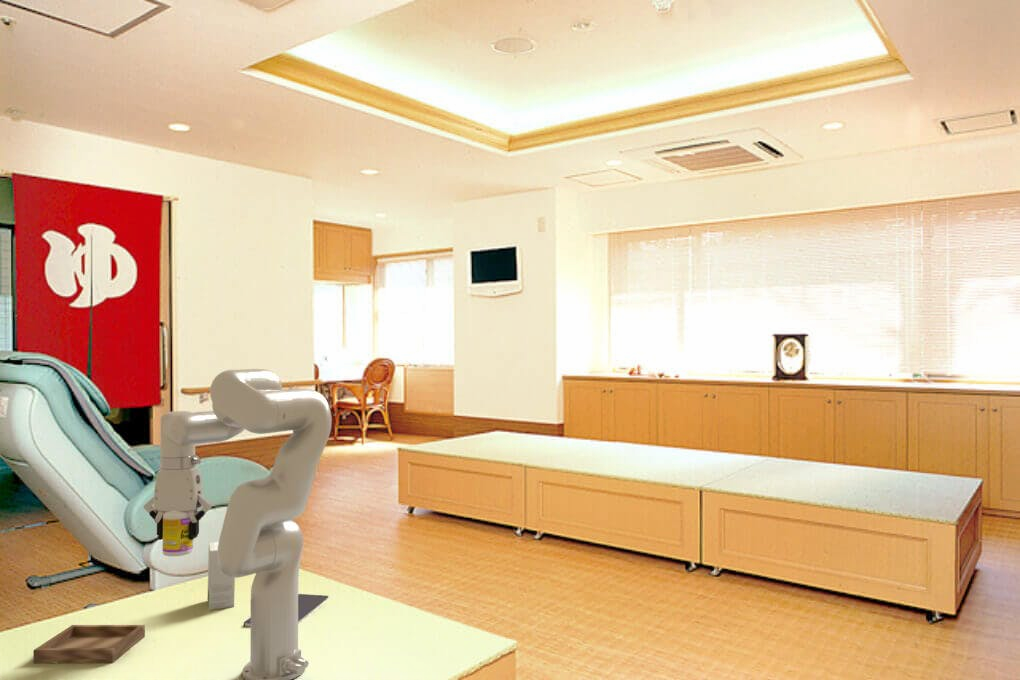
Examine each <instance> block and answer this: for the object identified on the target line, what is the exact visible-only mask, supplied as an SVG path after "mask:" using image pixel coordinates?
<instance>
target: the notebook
mask: <svg viewBox="0 0 1020 680" xmlns="http://www.w3.org/2000/svg"><path fill="white" fill-rule="evenodd" d="M328 598H329V595H321V594H310V593H309V594H308V593H307V594H304V593H298V625H300V624H301V623H302V622H303V621H304V620H303V619H305V618H306V617H307V616H308V615H309V614H311V613H312V612H313V611H314V610H315V609H316V608H317V607H319V606H320V605H321V604H322V603H323V602H324V601H326V600H327V599H328ZM328 600H329V599H328ZM319 608H320V607H319ZM314 612H315V611H314ZM314 612H313V613H314ZM313 613H312V614H313ZM312 614H311V615H312ZM308 617H309V616H308ZM308 617H307V618H308ZM307 618H306V619H307ZM306 619H305V620H306ZM302 620H303V621H302ZM301 621H302V622H301ZM300 622H301V623H300ZM299 623H300V624H299ZM250 626H251V617H249V618H248V619H246V620H245V621H243V627H250Z"/></svg>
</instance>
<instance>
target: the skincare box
mask: <svg viewBox="0 0 1020 680" xmlns="http://www.w3.org/2000/svg"><path fill="white" fill-rule="evenodd" d="M218 544H219V541H214V542H208V559H207V561H208V562H207V563H208V564H207V565H208V568H207V606H208V611H212V610H213V611H214V610H218V609H226V608H234V607H235V585H236V584H235V583H236V582H235V581H236V578H233V577H229V576H227V575H225V574H224V573H223V572H222V570H221V569H220V567H219V564H218V558H217V551H218Z"/></svg>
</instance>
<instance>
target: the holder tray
mask: <svg viewBox="0 0 1020 680" xmlns="http://www.w3.org/2000/svg"><path fill="white" fill-rule="evenodd" d="M145 633H146V625H145V624H72V625H70V626H68V627H67V628H65V629H64V630H62V631H61V632H60V633H58V634H56V635H55V636H53V637H51V638H50V639H49V640H47V641H45V642H44V643H42V644H40V645H39V646H38V647H35V648H34V649H33V653H32V654H33V660H32V661H33V662H64V663H63V664H113V663H114V662H116V661H117V660H118V659H120V658H121V657H122V656H123V655H124V654H125V653H127V652H128V651H129V650H130V649H131V648H133V647H135V645H136V644H138V643H139V642H141V641H142V640H143V639H145V637H146V636H145V635H146V634H145ZM65 662H66V663H65Z"/></svg>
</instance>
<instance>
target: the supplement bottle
mask: <svg viewBox="0 0 1020 680" xmlns="http://www.w3.org/2000/svg"><path fill="white" fill-rule="evenodd" d="M172 506H175V505H172ZM189 523H191V519H190V517H189V515H188V513H187V512H181V511H176V510H173V511H168V512H164V514H163V539H162V555H164V556H165V557H182V556H186V555H189V554H190V553H192V552H193V551H194V539H193V540H190V539H189Z"/></svg>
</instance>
